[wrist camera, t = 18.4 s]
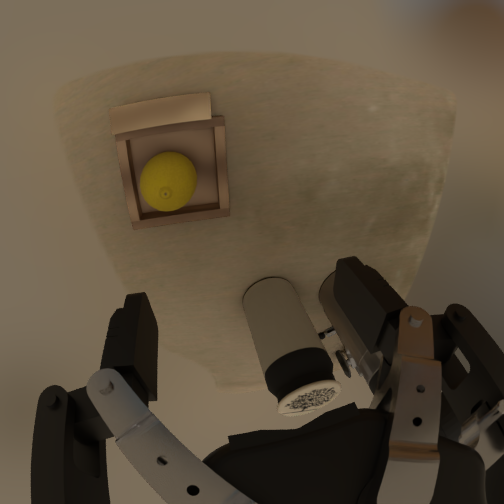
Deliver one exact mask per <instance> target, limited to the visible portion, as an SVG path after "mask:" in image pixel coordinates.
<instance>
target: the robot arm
mask: <svg viewBox="0 0 504 504" xmlns="http://www.w3.org/2000/svg"><path fill="white" fill-rule="evenodd" d="M319 300H320V302H321V304H322V306H323V308H324V312H325V314H326V315H327V317H328V319H329V320H330V322H331V324H332V326H333V327H334V329H335V331H336V333H337V334H338V336H339V338H340V339H341V341H342V343H343V345H344V346H345V348H346V350H347V351H349V352H350V354H351V355H352V357H353V359H354V361H355V362H356V364H357V366H358V368H359V369H360V371H361V373H362V375H363V376H364V378H365V380H366V382H367V384H368V385H369V387H370V389H371V391H372V393H373V395H374V397H373V400H372V402H371V405H370V407H369V409H368V408H363V409H358V408H357V406H356V404H355V402H353V403H351V404H348V405H345V406H342V407H340V408H337V409H334V410H331V411H328V412H326V413H324V414H322V415H321V416H319V417H317V418H316V419H314V420H312V421H311V422H309V423H307V424H305V425H304V426H302V427H300V428H298V429H290V430H258V431H253V432H248V433H243V434H237V435H231V436H228V439H229V443H228V444H226V445H223V446H221V447H220V448H218V449H216V450H215V451H213V452H212V453H210V454H209V455H208V456H207V457H206V458H205V459H204V460H203V461H201V460H200V459H199V458H197V457H196V456H195V455H194V454H193V453H192V452H191V451H190V450H189V449H188V448H187V447H185V446H184V445H183V444H182V443H181V442H180V441H179V440H178V439H177V438H176V437H175V436H174V435H173V434H172V433H171V432H170V431H169V430H168V429H167V428H166V427H165V426H164V425H163V424H162V423H161V421H159V419H158V418H157V417H156V416H155V415H154V414H152V412H151V411H150V410H149V409H148V401H157V357H158V326H157V321H156V318H155V316H154V313H153V311H152V308H151V305H150V303H149V300H148V297H147V295H146V293H145V292H141V293H135V294H128V295H127V296H126V299H125V303H124V308H119V309H117V310H116V311H115V313H114V314H113V315H112V317H111V318H110V322H109V327H108V332H107V336H106V337H107V339H106V340H105V346H104V350H103V355H102V360H101V366H100V370H99V371H97V372H95V373H94V374H93V375H92V376H91V377H90V379H89V381H88V383H87V386H85V387H83V388H79V389H76V390H74V391H71V392H66V390H64V389H63V388H62V387H61V386H57V385H53V386H50V387H47V388H46V389H45V390H44V391H43V392H42V393H41V395H40V397H39V400H38V406H37V412H36V418H35V425H34V434H33V443H32V457H31V504H110V497H109V488H108V477H107V463H106V439H107V438H111V437H114V436H115V438H116V444H117V446H118V447H119V449H120V450H121V451H122V453H123V454H124V455H125V456H126V458H127V459H128V460H129V461H130V463H131V464H132V465H133V466H134V468H135V469H136V470H137V471H138V472H139V474H140V475H141V476H142V477H143V478H144V479H145V480H146V482H147V483H149V485H150V486H151V487H152V488H153V489H154V490H155V491H156V492H157V493H158V494H159V495H160V496H161V497H162V498H163V500H165V501H166V502H167V503H168V504H504V354H503V352H502V350H501V349H500V348H499V346H498V345H497V344H496V343H495V341H494V340H493V339H492V337H491V336H490V335H489V334H488V332H487V331H486V330H485V329H484V327H483V326H482V325H481V324H480V323H479V322H478V320H477V319H476V318H475V317H474V315H473V314H472V313H471V312H470V311H469V310H468V309H467V308H466V307H464V306H462V305H460V304H451V305H449V306H448V307H447V309H446V311H445V313H444V314H441V315H429V313H428V312H426V311H425V310H424V309H422V308H420V307H417V306H408V305H407V304H406V303H405V301H404V300H403V299H402V298H401V297H400V296H399V295H398V293H397V292H396V291H395V290H394V289H393V288H392V287H391V286H389V283H388V282H387V281H386V280H384V278H383V277H382V276H381V275H380V274H379V273H378V272H377V271H376V270H375V269H373V268H371V267H369V266H368V265H365V266H364V264H363V263H362V262H361V261H360V260H359V259H358V258H357V257H356V256H352V257H347V258H342V259H339V260H338V261H337V264H336V271H335V272H334V273H332V274H331V275H330V276H329V277H328V278H327V279H326V281H325V282H324V283H323V285H322V287H321V289H320V293H319ZM457 348H459V349H460V350H461V352H462V353H463V354H464V356H465V357H466V359H467V360H468V362H469V364H470V372H469V374H468V373H467V372H466V370H465V368H464V367H463V365H462V364H461V362H460V361H459V359H458V358H457V357H456V355H455V354H454V353H455V351H456V350H457ZM441 390H442V392H441Z"/></svg>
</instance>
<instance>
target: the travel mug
mask: <svg viewBox="0 0 504 504" xmlns="http://www.w3.org/2000/svg"><path fill="white" fill-rule="evenodd" d="M243 307H244V311H245V314H246V317H247V321H248V324H249V328H250V331H251V334H252V338H253V341H254V344H255V348H256V351H257V354H258V358H259V361H260V364H261V367H262V371H263V374H264V377H265V380H266V384H267V387H268V390H269V391H270V392H271V393H272V394H273V395H275V396H276V397H277V399H278V406H277V411H278V412H279V413H280V414H281V415H285V416H297V415H303V414H306V413H309V412H312V411H315V410H317V409H319V408H321V407H323V406H325V405H327V404H328V403H330V402H331V401H332V400H334V398H336V397H337V396H338V394H339V393H340V391H341V388H342V387H341V384H340V383H339V382H338V381H336V380H335V379H334V378H333V376H332V373H333V363H332V361H331V359H330V357H329V355H328V353H327V351H326V349H325V347H324V345H323V344H322V342H321V340H320V338H319V336H318V334H317V332H316V330H315V328H314V326H313V324H312V322H311V320H310V318H309V317H308V315H307V313H306V311H305V309H304V307H303V305H302V303H301V301H300V299H299V298H298V296H297V294H296V292H295V290H294V288H293V286H292V285H291V284H290V283H289V282H288V281H286V280H284V279H281V278H268V279H264V280H262V281H259V282H257V283H256V284H254V285H253V286H252V287H250V288H249V290H248V291H247V292H246V294H245V296H244V298H243Z"/></svg>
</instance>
